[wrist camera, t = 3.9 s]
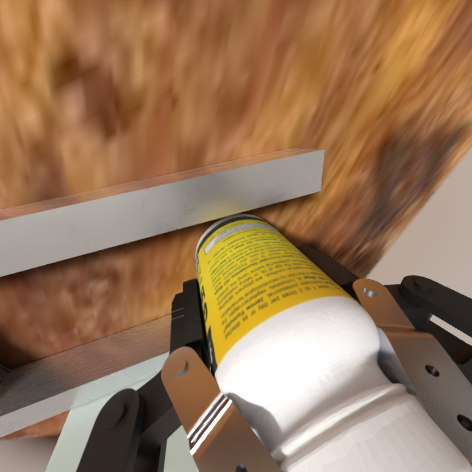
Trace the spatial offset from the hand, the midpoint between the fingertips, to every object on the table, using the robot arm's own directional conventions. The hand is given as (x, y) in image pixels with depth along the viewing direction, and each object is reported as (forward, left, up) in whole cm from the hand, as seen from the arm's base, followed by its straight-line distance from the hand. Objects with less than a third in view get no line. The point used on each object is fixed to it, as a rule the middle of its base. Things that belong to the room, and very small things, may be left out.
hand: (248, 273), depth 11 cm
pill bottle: (0, 0, -3) cm, 3 cm away
